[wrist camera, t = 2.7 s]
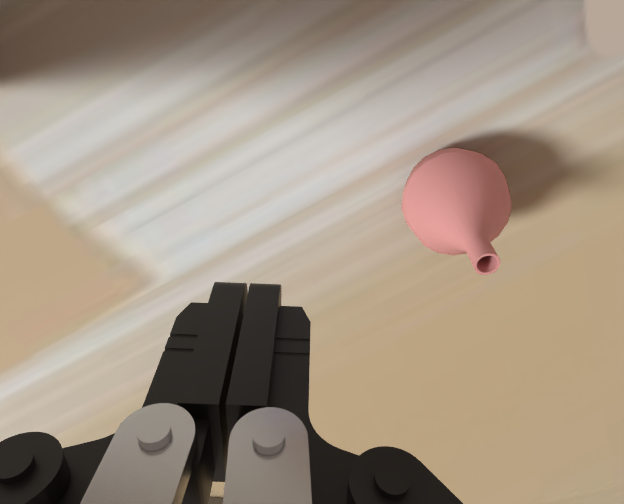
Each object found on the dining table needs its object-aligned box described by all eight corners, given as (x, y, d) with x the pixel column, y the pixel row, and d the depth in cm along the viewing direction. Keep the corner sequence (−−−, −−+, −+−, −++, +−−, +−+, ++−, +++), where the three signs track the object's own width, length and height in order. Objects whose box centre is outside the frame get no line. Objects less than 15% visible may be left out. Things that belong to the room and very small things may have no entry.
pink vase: (508, 143, 37) (578, 219, 27) (473, 228, 41) (522, 321, 31) (410, 126, 37) (445, 196, 26) (385, 213, 41) (406, 304, 31)
